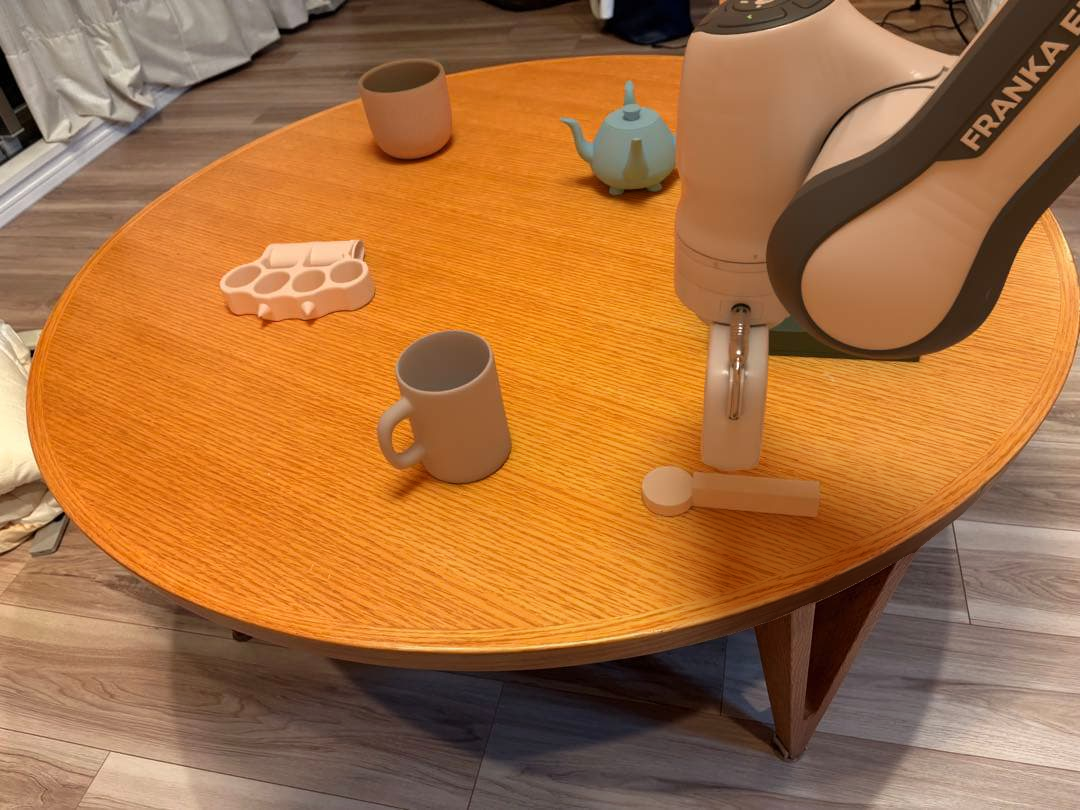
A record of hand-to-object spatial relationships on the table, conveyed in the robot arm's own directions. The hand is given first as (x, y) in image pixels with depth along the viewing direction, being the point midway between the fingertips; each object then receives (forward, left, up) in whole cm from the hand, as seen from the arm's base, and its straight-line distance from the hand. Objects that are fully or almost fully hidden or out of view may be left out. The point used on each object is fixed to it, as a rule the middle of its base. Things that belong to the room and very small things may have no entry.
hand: (731, 417), depth 62 cm
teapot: (+15, -54, -10) cm, 57 cm away
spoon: (0, 0, -10) cm, 10 cm away
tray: (-7, -32, -10) cm, 34 cm away
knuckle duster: (+51, -27, -10) cm, 58 cm away
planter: (+49, -64, -10) cm, 81 cm away
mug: (+25, -2, -10) cm, 27 cm away
